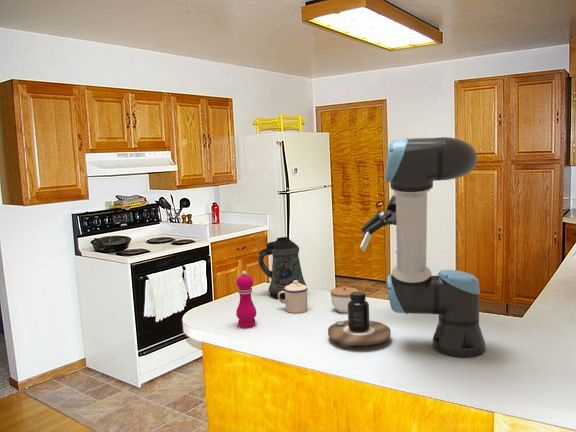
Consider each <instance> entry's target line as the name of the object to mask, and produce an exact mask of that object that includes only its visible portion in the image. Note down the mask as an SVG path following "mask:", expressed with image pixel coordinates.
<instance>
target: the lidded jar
mask: <svg viewBox="0 0 576 432" xmlns="http://www.w3.org/2000/svg"><path fill="white" fill-rule="evenodd" d="M352 292H360V291H359V290H358V289H357V288H356V287H350V286H349V287H347V286H345V285H343V286H342V287H334V288H332V289H331V290H330V298H331V303H332V306H333V308H334V309H336V310H337V312H339V313H344V314H346V313H347V314H348V303H349V302H350V301H351V299H350V294H351V293H352Z"/></svg>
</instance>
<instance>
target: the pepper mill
mask: <svg viewBox="0 0 576 432" xmlns="http://www.w3.org/2000/svg"><path fill="white" fill-rule="evenodd" d="M235 282H236V283H235V284H236V286H237V288H238V294H239V303H238V306H237V308H236V312H235V314H236V318H237V319H238V321H237V325H238V326H237V327H239V328H241V329H249V328H253V327H255V326H256V325H257V324H256V322H257V321H256V319H255V318H256V316H257V310H256V306H255V305H254V303H253V300H252V293H253V288H252V286H253V285H254V279H253V277H252V276H250V275H248V273H247V271H246V270H243V271H241V275H239V276H238V277H237V279H236V281H235Z"/></svg>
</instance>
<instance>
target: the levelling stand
mask: <svg viewBox="0 0 576 432" xmlns="http://www.w3.org/2000/svg"><path fill="white" fill-rule="evenodd" d="M369 323H370V328H369V330H368V331H366V332H361V333H357V332H352V331H350V330H349V327H348V319H347V320H337V321H335V322H334V323H333V324H331V325H330V326H329V327H328V329H327V335H328V337H329V339H331V340H333V341H335V342H337V343H339V347H340V348H341V349H345V350H346V349H352V348H354V346H373V345H377V344H384V343H387V342H388V340H389V339H390V337H391V329H390V327H389V326H388V325H386V324H384V323H382V322H379V321H376V320H370V319H369Z"/></svg>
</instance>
